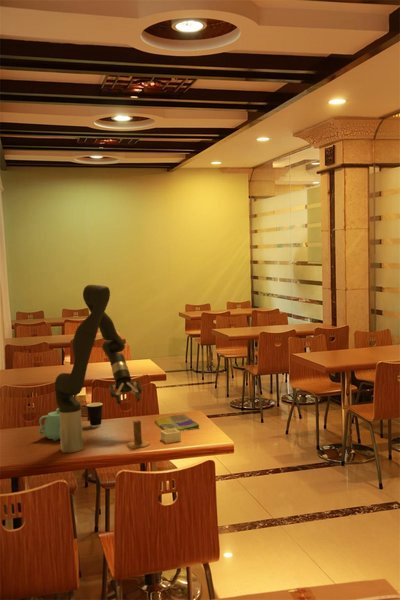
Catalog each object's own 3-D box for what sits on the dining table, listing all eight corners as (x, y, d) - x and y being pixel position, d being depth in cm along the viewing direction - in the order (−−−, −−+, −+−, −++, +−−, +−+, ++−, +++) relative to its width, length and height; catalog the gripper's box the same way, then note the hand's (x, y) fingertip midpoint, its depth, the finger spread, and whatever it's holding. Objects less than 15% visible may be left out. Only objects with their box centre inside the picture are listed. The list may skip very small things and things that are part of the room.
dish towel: (164, 434, 291) (164, 428, 291) (154, 422, 314) (153, 417, 314) (200, 429, 295) (200, 424, 295) (187, 418, 319) (187, 413, 319)
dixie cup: (88, 424, 315) (87, 403, 314) (104, 423, 316) (103, 401, 315) (87, 428, 307) (85, 406, 307) (103, 427, 308) (101, 405, 307)
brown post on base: (130, 449, 267) (129, 424, 266) (124, 444, 275) (123, 420, 275) (152, 446, 270) (150, 421, 269) (145, 441, 279) (144, 417, 278)
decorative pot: (62, 443, 282) (60, 414, 281) (35, 440, 290) (34, 411, 289) (85, 434, 296) (84, 406, 295) (60, 431, 304) (58, 403, 304)
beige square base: (165, 443, 274) (165, 434, 273) (161, 439, 280) (160, 430, 280) (180, 440, 276) (180, 431, 276) (175, 437, 283) (175, 428, 283)
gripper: (107, 370, 288) (114, 399, 278) (136, 366, 293) (145, 395, 283) (105, 380, 293) (112, 409, 283) (134, 376, 298) (143, 404, 288)
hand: (129, 402), depth 283 cm, fingers open, 8 cm apart
